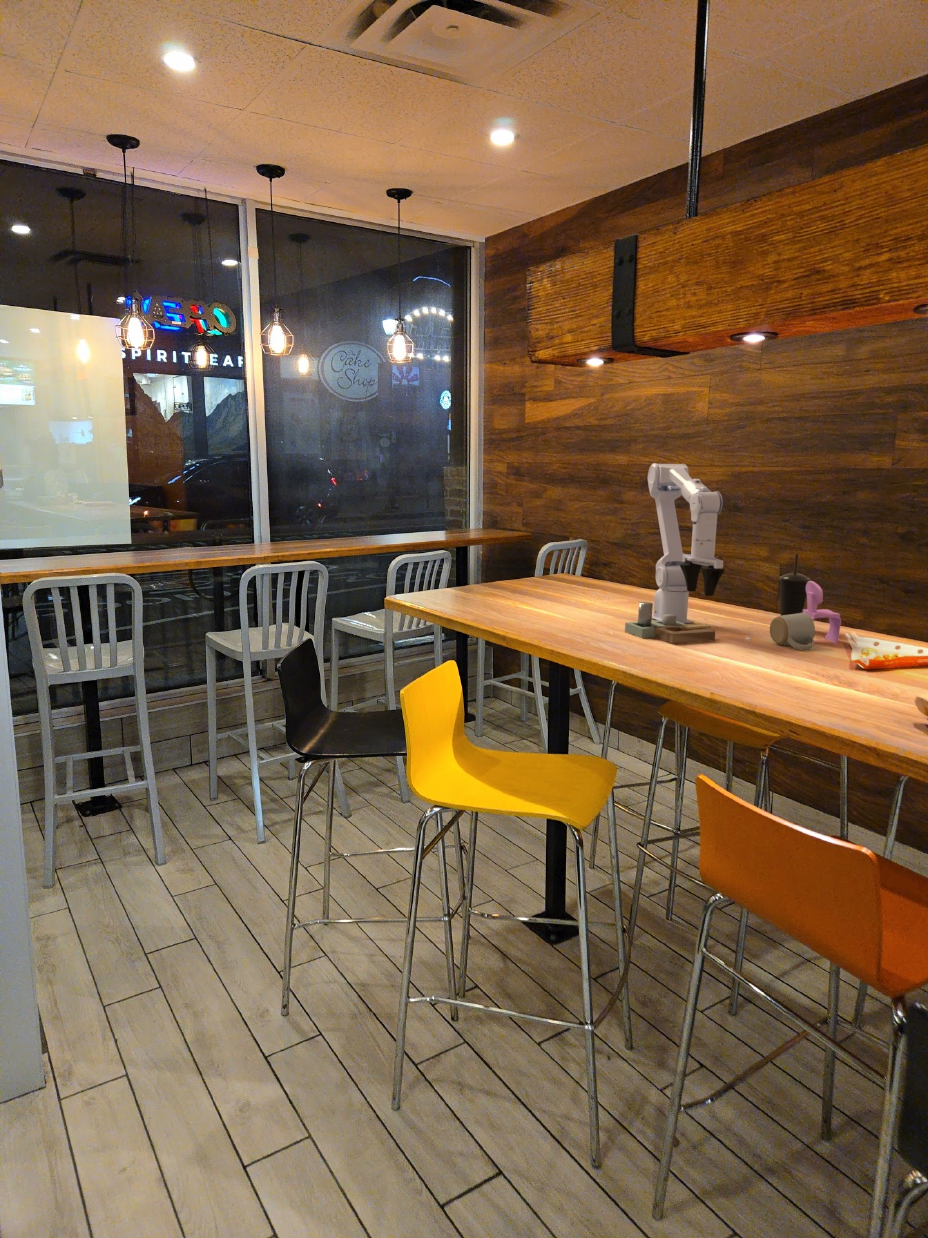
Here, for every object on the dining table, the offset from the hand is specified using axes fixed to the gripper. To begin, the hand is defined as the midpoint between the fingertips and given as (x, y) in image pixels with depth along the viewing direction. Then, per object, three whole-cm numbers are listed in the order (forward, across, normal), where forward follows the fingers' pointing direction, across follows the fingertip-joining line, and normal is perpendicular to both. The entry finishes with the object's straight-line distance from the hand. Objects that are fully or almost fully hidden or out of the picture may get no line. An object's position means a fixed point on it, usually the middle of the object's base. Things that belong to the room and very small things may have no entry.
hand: (700, 593), depth 213 cm
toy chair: (+11, +16, +24) cm, 31 cm away
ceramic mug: (+11, +18, +15) cm, 26 cm away
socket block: (+10, +4, -7) cm, 13 cm away
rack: (+10, -3, -10) cm, 15 cm away
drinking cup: (+10, +2, +28) cm, 30 cm away
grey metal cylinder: (+10, -3, -14) cm, 18 cm away
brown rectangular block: (+10, +4, -3) cm, 12 cm away
